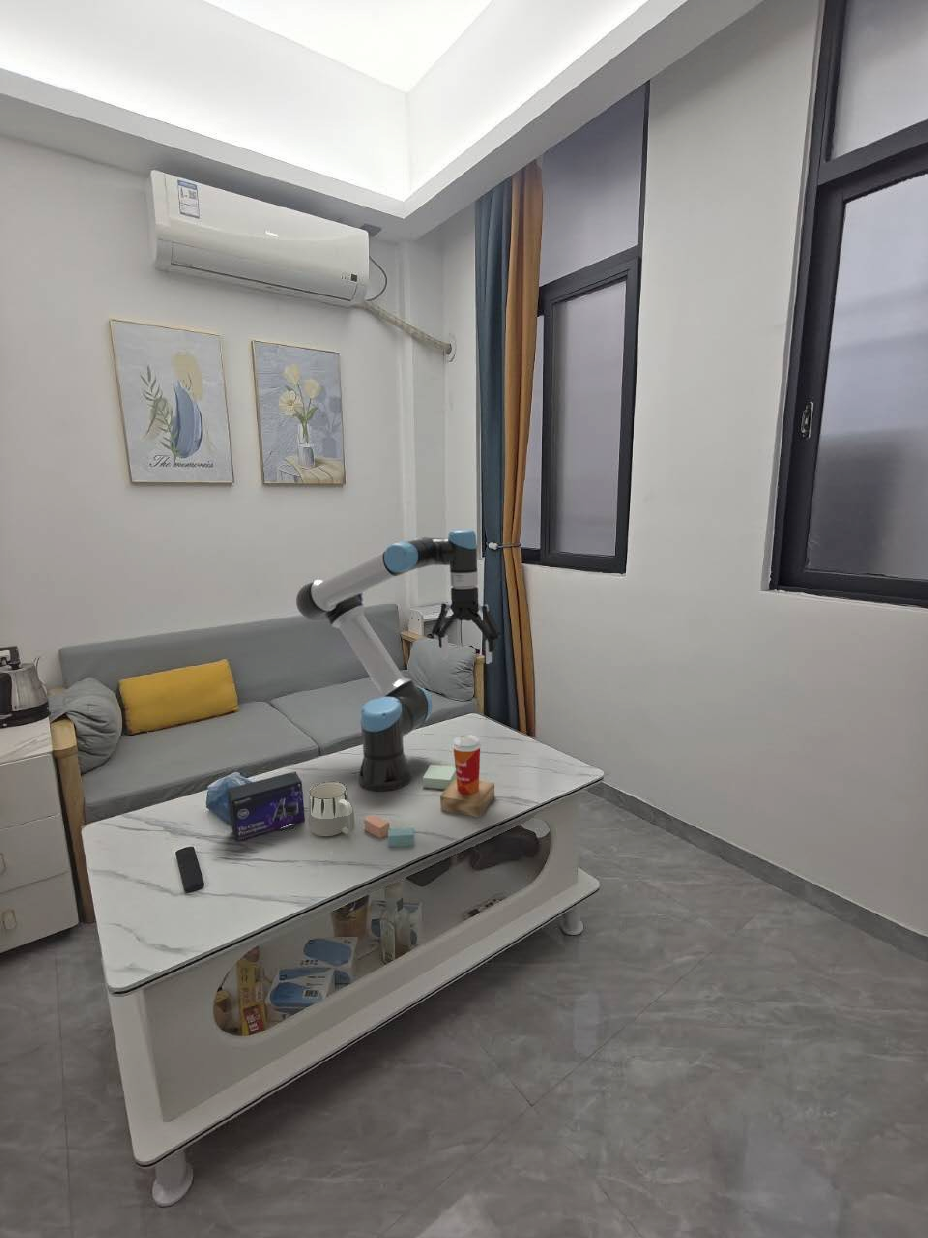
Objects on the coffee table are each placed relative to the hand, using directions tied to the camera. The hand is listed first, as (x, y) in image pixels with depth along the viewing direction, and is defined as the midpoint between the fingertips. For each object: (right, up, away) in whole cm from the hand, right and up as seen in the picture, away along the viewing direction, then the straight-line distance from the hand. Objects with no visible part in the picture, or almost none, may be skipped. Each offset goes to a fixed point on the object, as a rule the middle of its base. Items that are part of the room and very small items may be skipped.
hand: (466, 660), depth 164 cm
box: (-50, -41, -17) cm, 67 cm away
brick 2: (-16, -42, -26) cm, 52 cm away
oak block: (0, -37, -9) cm, 39 cm away
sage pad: (-8, -35, +3) cm, 36 cm away
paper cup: (0, -34, -10) cm, 35 cm away
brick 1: (-22, -41, -21) cm, 51 cm away
